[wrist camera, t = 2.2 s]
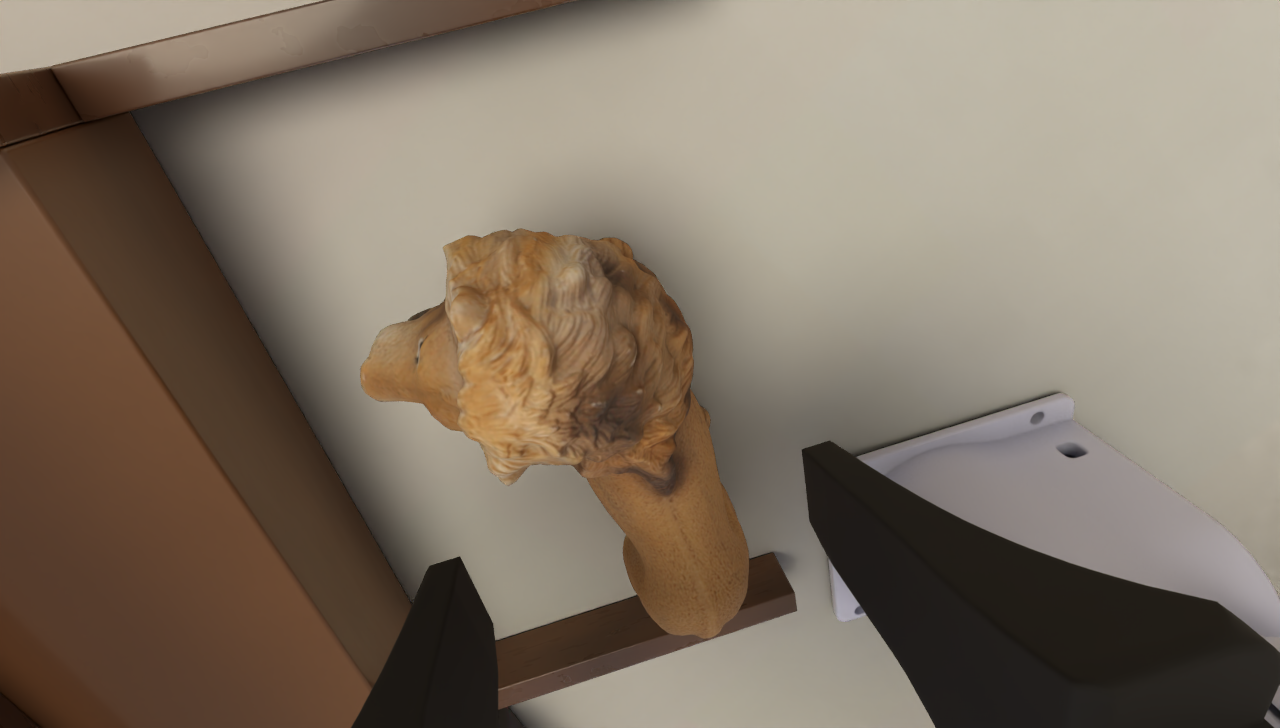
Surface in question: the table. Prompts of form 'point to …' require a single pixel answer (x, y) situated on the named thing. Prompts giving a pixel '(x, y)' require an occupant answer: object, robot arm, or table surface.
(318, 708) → the rack
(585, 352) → the lion figurine
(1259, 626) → the robot arm
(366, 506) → the table surface
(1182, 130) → the table surface
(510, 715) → the calculator
